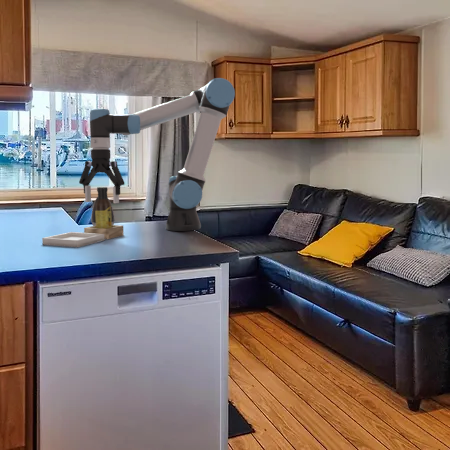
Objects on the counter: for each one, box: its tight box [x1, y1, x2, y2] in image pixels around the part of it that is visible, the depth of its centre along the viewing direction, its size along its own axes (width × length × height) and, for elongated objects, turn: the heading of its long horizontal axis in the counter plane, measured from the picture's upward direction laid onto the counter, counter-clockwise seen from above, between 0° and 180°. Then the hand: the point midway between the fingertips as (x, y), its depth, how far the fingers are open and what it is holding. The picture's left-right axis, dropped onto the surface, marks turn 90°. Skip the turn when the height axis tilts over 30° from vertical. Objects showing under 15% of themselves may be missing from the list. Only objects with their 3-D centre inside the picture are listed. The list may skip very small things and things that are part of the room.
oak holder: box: [83, 224, 125, 240], centre depth 216 cm, size 11×11×4 cm
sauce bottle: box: [95, 186, 112, 229], centre depth 215 cm, size 6×6×20 cm
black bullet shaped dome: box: [90, 196, 116, 226], centre depth 236 cm, size 10×10×15 cm
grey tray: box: [41, 231, 105, 248], centre depth 202 cm, size 16×16×2 cm
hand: (102, 202), depth 214 cm, fingers open, 13 cm apart
